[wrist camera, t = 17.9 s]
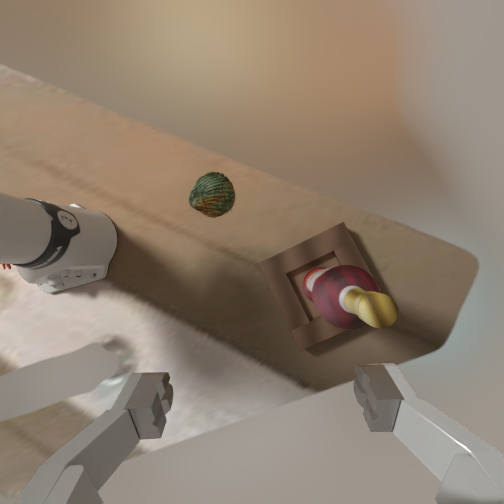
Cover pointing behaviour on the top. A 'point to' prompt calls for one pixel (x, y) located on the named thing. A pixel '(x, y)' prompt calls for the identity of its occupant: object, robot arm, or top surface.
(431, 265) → the top surface
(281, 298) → the plinth
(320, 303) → the liquor
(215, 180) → the seashell
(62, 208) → the robot arm
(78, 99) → the top surface
